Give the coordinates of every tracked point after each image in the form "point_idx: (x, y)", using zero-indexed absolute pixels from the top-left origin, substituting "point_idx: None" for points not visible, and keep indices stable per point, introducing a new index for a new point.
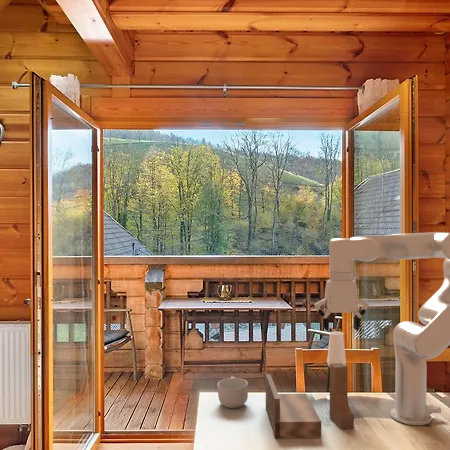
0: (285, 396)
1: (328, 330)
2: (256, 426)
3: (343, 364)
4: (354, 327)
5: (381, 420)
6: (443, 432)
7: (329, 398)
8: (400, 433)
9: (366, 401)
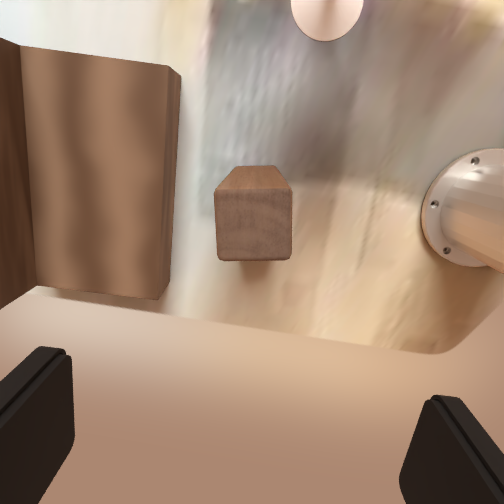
0: (80, 84)
1: (70, 442)
2: None
3: (285, 221)
4: (424, 438)
5: (380, 212)
6: (495, 303)
7: (296, 4)
8: (382, 291)
9: (424, 53)
